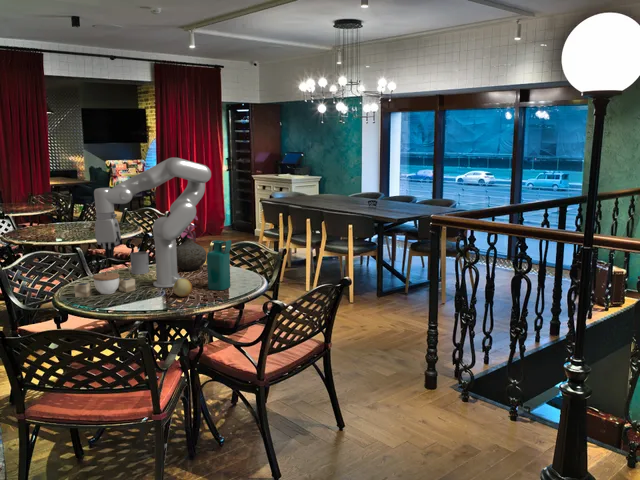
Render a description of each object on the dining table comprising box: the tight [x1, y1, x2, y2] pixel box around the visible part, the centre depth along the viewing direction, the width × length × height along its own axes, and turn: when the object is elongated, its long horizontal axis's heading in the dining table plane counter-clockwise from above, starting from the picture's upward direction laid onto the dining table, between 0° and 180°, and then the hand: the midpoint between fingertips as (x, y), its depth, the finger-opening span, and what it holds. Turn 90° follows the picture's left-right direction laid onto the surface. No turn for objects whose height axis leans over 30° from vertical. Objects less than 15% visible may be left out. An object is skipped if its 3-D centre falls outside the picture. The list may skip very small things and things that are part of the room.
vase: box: [176, 215, 207, 272], centre depth 302 cm, size 17×17×30 cm
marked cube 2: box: [118, 277, 136, 293], centre depth 261 cm, size 5×5×5 cm
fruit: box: [172, 278, 193, 298], centre depth 249 cm, size 8×8×8 cm
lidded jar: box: [93, 271, 120, 295], centre depth 256 cm, size 11×11×9 cm
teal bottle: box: [206, 239, 232, 292], centre depth 262 cm, size 10×8×22 cm
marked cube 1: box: [74, 282, 93, 298], centre depth 252 cm, size 5×5×5 cm
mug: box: [130, 251, 150, 275], centre depth 299 cm, size 12×9×10 cm
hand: (109, 257), depth 257 cm, fingers closed
